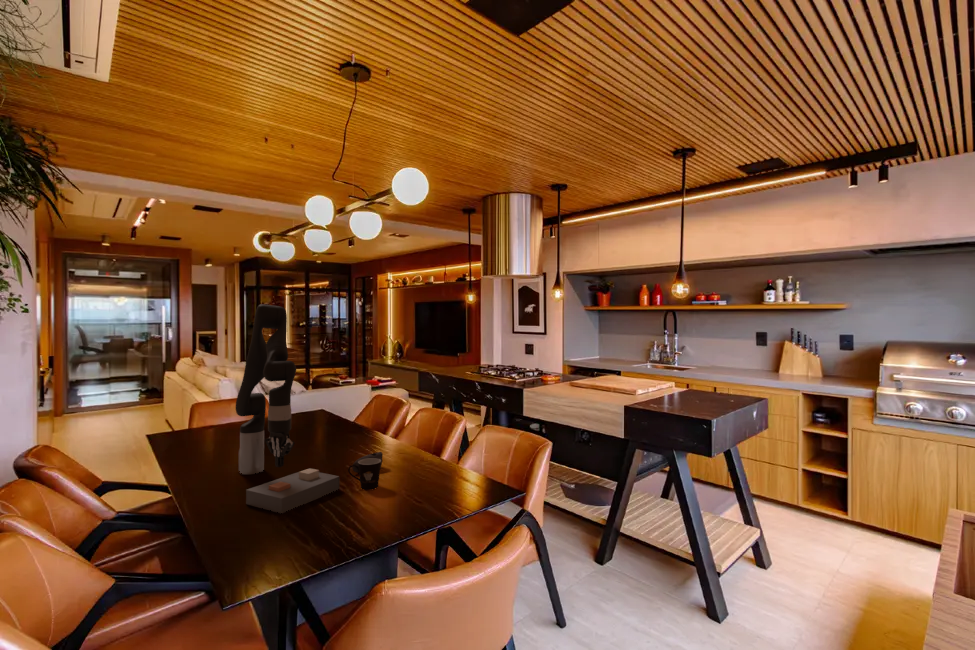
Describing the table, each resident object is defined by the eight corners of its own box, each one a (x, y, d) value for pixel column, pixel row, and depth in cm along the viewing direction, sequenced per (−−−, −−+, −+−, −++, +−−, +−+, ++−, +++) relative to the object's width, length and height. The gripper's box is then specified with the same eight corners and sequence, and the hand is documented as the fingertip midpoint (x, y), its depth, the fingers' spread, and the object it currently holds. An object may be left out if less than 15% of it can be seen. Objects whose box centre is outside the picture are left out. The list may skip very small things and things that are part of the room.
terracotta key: (268, 497, 165) (268, 485, 165) (280, 492, 170) (280, 481, 170) (278, 499, 163) (278, 488, 163) (290, 494, 167) (290, 483, 167)
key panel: (246, 504, 165) (246, 489, 165) (305, 482, 188) (305, 469, 188) (281, 513, 156) (281, 498, 156) (339, 489, 179) (339, 476, 179)
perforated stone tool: (355, 476, 196) (355, 459, 196) (349, 473, 199) (349, 456, 199) (386, 468, 206) (386, 452, 206) (380, 466, 210) (380, 450, 210)
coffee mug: (385, 484, 185) (385, 459, 185) (372, 492, 176) (373, 465, 176) (359, 481, 188) (359, 456, 188) (346, 488, 180) (346, 462, 180)
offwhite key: (298, 482, 177) (298, 471, 177) (309, 478, 181) (309, 468, 181) (308, 484, 174) (308, 473, 174) (318, 480, 179) (318, 470, 179)
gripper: (257, 417, 166) (257, 466, 166) (283, 421, 160) (283, 472, 160) (276, 413, 173) (275, 461, 173) (301, 417, 166) (301, 466, 167)
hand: (279, 466), depth 166 cm, fingers closed
